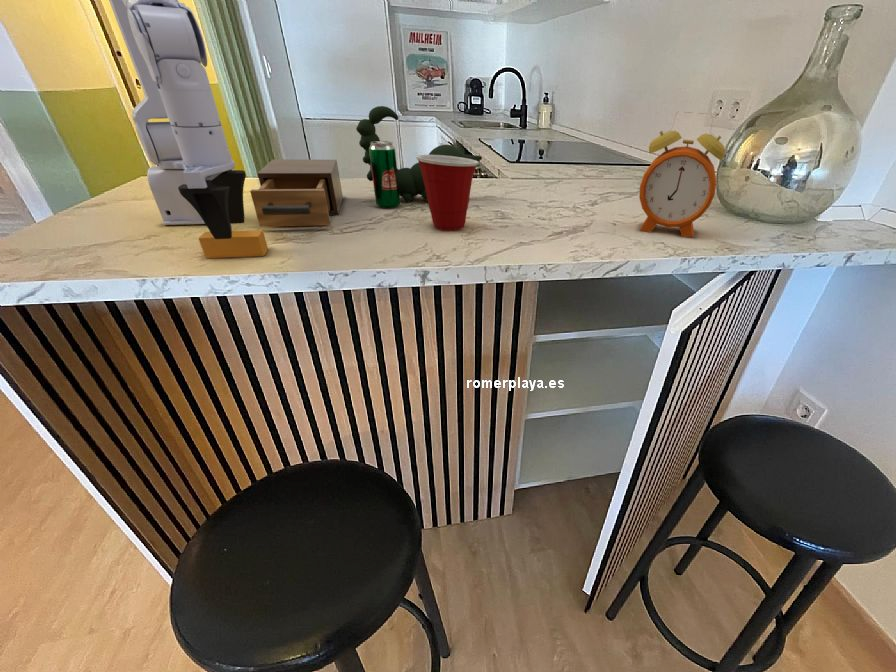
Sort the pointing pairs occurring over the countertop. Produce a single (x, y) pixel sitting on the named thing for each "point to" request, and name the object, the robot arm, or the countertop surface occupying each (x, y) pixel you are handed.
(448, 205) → the plastic cup
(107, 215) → the countertop surface
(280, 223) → the drawer
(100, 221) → the countertop surface
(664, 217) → the alarm clock
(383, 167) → the soda can
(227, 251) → the granola bar
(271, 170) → the cabinet
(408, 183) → the toy figurine
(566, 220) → the countertop surface
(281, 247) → the countertop surface
